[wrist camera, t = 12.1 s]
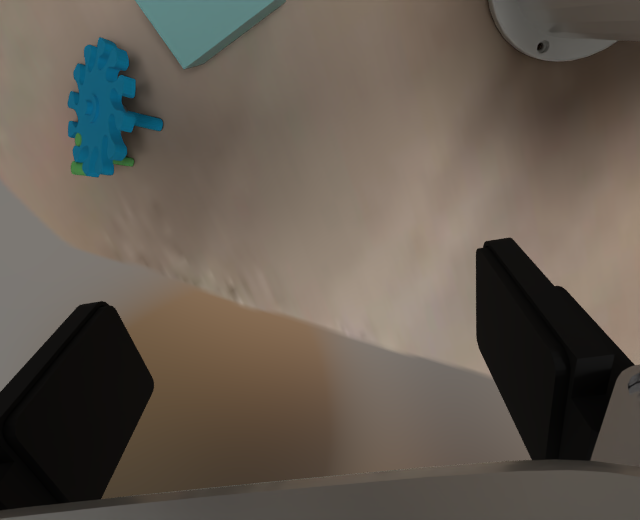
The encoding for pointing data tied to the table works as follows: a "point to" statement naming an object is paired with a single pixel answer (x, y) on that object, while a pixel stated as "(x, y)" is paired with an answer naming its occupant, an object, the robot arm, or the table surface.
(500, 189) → the table surface
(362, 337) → the table surface
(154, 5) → the teal block
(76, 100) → the gear
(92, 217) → the table surface
